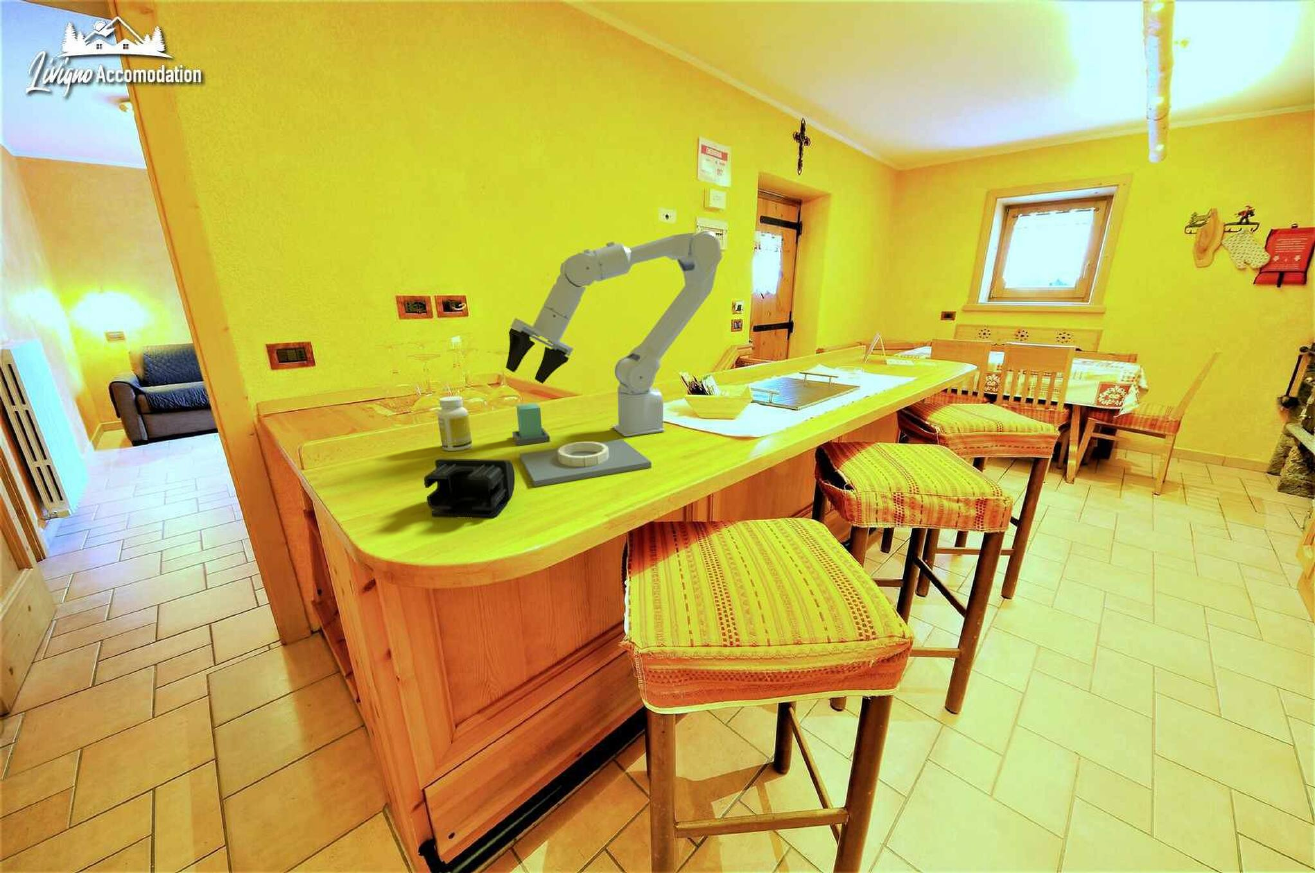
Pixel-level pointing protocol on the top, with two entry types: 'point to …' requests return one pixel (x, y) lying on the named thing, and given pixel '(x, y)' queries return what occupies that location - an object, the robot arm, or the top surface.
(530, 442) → the dark grey square frame
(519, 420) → the plug
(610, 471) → the socket board
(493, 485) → the end cap
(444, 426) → the supplement bottle
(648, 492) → the top surface
